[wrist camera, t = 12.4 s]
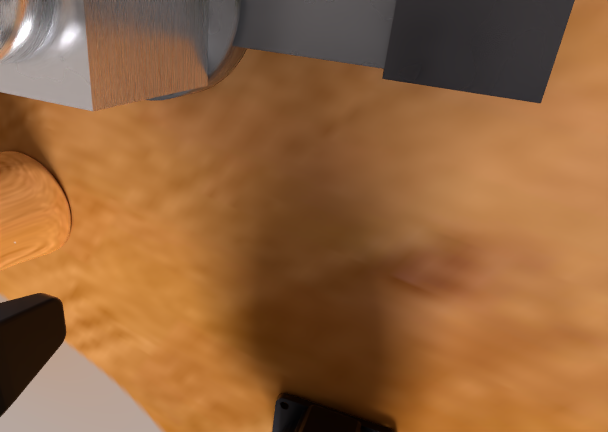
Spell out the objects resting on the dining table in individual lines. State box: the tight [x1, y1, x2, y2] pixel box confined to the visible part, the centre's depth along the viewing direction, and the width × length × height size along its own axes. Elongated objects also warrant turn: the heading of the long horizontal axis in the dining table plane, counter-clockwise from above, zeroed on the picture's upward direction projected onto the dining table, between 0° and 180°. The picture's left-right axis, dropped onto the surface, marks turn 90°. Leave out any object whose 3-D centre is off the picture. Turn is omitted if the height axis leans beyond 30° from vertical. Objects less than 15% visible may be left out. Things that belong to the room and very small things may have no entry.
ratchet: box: [146, 0, 575, 103], centre depth 14 cm, size 18×8×6 cm, turn 83°
